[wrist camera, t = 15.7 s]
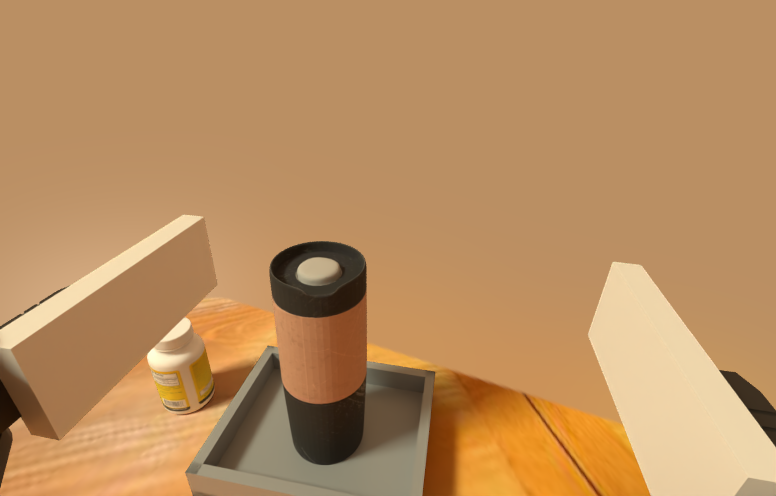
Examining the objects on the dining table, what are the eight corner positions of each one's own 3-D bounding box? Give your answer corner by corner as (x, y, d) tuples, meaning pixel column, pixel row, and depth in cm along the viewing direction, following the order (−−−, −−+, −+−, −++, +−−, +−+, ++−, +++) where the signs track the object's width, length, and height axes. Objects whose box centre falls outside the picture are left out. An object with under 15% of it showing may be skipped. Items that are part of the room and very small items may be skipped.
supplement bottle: (208, 371, 49) (192, 306, 44) (221, 401, 45) (205, 333, 40) (159, 390, 46) (136, 323, 41) (167, 424, 42) (143, 354, 38)
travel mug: (325, 391, 45) (316, 232, 36) (380, 425, 42) (386, 258, 32) (273, 440, 40) (245, 267, 30) (331, 484, 36) (321, 303, 27)
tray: (432, 393, 47) (435, 371, 45) (416, 545, 33) (419, 521, 31) (270, 367, 50) (267, 345, 48) (193, 496, 36) (185, 472, 34)
